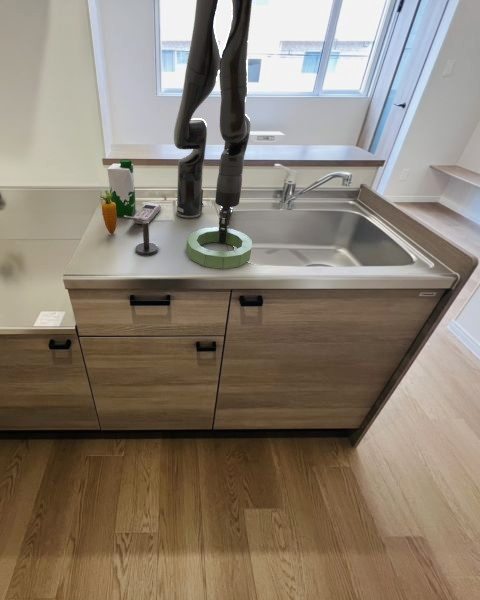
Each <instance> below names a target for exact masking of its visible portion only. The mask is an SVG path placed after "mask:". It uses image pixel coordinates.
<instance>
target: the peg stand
mask: <svg viewBox="0 0 480 600" xmlns="http://www.w3.org/2000/svg"><path fill="white" fill-rule="evenodd" d="M149 225H150V222H149V223H148V221H144V222H143V224H142V241H143V242H140V243H139V244H137V245H136V246H135V252H136V254H138V255H139V256H144V257H145V256H147V257H148V256H153V255H155V254H157V253H158V251H159V250H158V249H159V248H158V245H157V244H155V243H152V242H150V228H149V227H150V226H149Z"/></svg>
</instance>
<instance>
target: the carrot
mask: <svg viewBox="0 0 480 600" xmlns="http://www.w3.org/2000/svg"><path fill="white" fill-rule="evenodd" d="M104 193H105V196H103V195H100V196H99V197H100V198H101V199H103V200H104V202H102V203H101V211H102V217H103V222H104V225H105V228H106V230H107V231H108V233H109V234H110V235H111V236H113V235H114V234H115V232H116V228H117V222H118V221H117V220H118V217H117V213H116V204H115V203H114V202H111V195H112V194H111V193H110V192H109V191H108V190H107V189H106V190H104Z"/></svg>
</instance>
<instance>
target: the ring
mask: <svg viewBox="0 0 480 600" xmlns="http://www.w3.org/2000/svg"><path fill="white" fill-rule="evenodd" d="M222 229H225V228H222ZM218 230H219V226H218V227H216V226H215V227H214V226H213V227H204V228H203V227H202V228H199V229H197V230H195V231H193V232H190V233H189V235H188V237H187V239H186V247H185V253H186V254H187V256H188V257H189V259H190V260H191V261H192V262H195V263H197V264H199V265H200V266H203V267H206V268H214V269H219V270H223V269H224V270H226V269H233V268H239V267H241V266H243V265H244V264H246V263H248V262H249V261H250V260H251V254H252V247H253V240H252V239H251V238H250V237H249V236H248V235H247V234H245V233H243V232H241V231H238V230H235V229H233V228H228V229H227V230H228V231H227V233H226V241H225V243H224V244H228V245H230V246H232V247H235V248H236V249H234V250H228V251H227V250H226V251H218V250H211V249H208V248H206V247H204V246H202V245H205V244H209V243H220V242H219V234H220V232H219V231H218Z"/></svg>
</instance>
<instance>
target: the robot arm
mask: <svg viewBox="0 0 480 600" xmlns="http://www.w3.org/2000/svg"><path fill="white" fill-rule="evenodd" d="M219 1H220V0H196V2H195V11H194V21H193V28H192V33H191V40H190V45H189V46H190V47H189V51H188V56H187V61H186V68H185V72H184V73H185V74H184V81H183V86H182V87H183V88H182V93H181V100H180V103H179V108H178V112H177V115H176V120H175V123H174V129H173V144H174V146H175V147H176V149H178V150H192V151H191V152H190V153H188V155H186V156H184V157H182V158H180V159H179V160H178V162H177V189H176V190H177V191H176V192H177V193H176V195H177V196H176V216H177V217H179V218H182V219H187V220H188V219H197V218H199V217H201V214H202V211H203V206H204V203H203V200H204V199H203V198H204V189H203V177H204V176H203V175H204V163H205V157H206V149H207V148H206V147H207V138H208V127H207V123H206V121H205V120H204V119H202V118H193V116H194V113H196V111H197V109H198V108H199V107H200V106H201V105H202V104H203V103H204V102H205V100H206V99H207V98H208V97H209V96H210V95H211V93H212V92H213V90H214V89H215V87H216V83H217V80H218V76H219V90H220V107H219V131H220V136H221V138H222V140H223V141H224V147H223V150H222V153H221V155H220V158H219V166H218V174H217V180H216V190H215V200H214V201H215V204H216V205H218V206H220V209H219V213H218V215H219V217H218V227H219V230H218V231H219V232H220V234H219V242H218V243H220V244H226V243H225V241H226V233H227V231H228V230H227V229H229V226H230V224H231V220H232V215H233V212H234V208H233V207H237V206H238V205H239V204H240V199H241V192H242V187H243V172H244V165H245V156H246V151H247V147H248V144H249V139H250V135H251V120H250V118H249V116H248V115H247V114H246V100H247V97H248V92H249V89H248V88H249V87H248V46H249V34H250V25H251V17H252V16H251V15H252V3H253V0H231V10H232V12H231V22H230V27H229V31H228V34H227V37H226V41H225V43H224V46H223V49H222V52H221V49H220V45H219V42H218V38H217V34H216V29H215V28H216V27H215V24H216V23H215V22H216V14H217V9H218V5H219ZM222 228H225V229H222Z"/></svg>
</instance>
